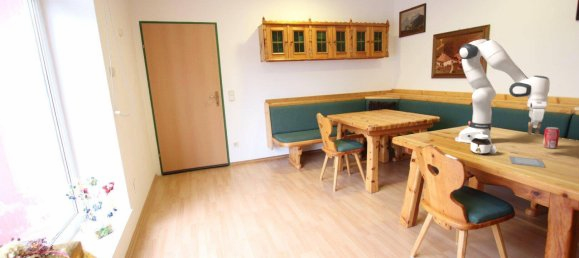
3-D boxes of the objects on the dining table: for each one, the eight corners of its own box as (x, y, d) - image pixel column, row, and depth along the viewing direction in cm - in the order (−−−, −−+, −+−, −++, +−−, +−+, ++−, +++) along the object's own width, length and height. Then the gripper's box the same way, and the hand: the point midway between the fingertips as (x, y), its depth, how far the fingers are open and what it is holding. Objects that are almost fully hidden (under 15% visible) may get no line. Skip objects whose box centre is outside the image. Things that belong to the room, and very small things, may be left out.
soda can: (560, 149, 178) (563, 129, 176) (546, 148, 180) (550, 129, 177) (552, 146, 185) (555, 126, 183) (539, 145, 187) (542, 126, 184)
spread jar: (468, 152, 180) (469, 134, 178) (479, 149, 185) (481, 132, 182) (487, 157, 170) (489, 138, 167) (499, 154, 174) (501, 136, 171)
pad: (511, 163, 157) (511, 162, 157) (509, 156, 168) (509, 156, 168) (544, 167, 149) (545, 166, 149) (540, 160, 161) (540, 159, 161)
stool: (528, 134, 168) (529, 123, 167) (527, 133, 172) (528, 121, 171) (539, 135, 166) (541, 123, 164) (537, 133, 170) (539, 122, 168)
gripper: (527, 101, 175) (524, 123, 178) (532, 105, 159) (529, 129, 162) (540, 101, 172) (537, 123, 175) (547, 106, 155) (544, 130, 158)
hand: (533, 126), depth 168 cm, fingers closed on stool, 5 cm apart
